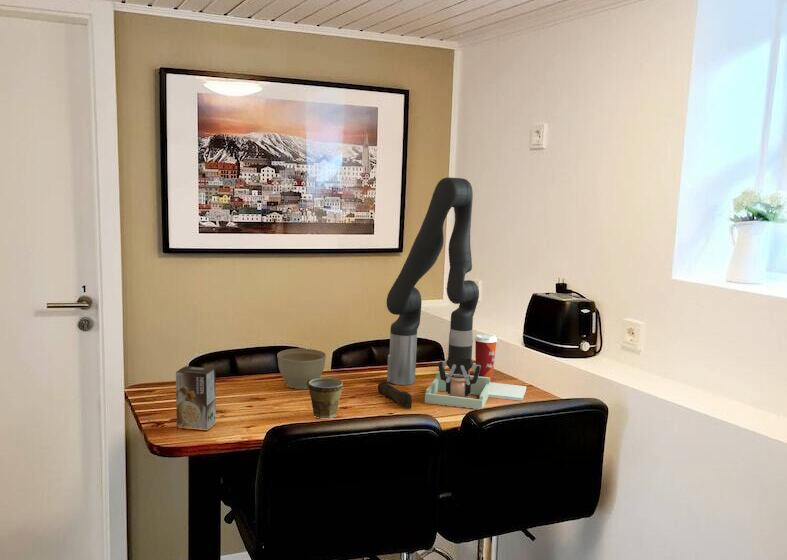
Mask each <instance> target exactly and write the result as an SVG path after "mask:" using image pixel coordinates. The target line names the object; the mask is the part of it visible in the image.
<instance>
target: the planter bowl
mask: <svg viewBox="0 0 787 560" xmlns="http://www.w3.org/2000/svg"><path fill="white" fill-rule="evenodd" d="M276 357H277V366H278V369H279V370H278V371H279V373H280V375H281V377H282V378H283V380H284V381H285V383H286V387H288V388H289V387H290V389H292V388H295V389H294V390H308V389H307V388H308V387H307V381H308V380H313V379H317V378H321V376H322V374H323V372H324V370H325V364H326V358H327V353H326V352H324V351H321V350H318V349H312V348H290V349H285V350H281V351H279V352H277V355H276Z"/></svg>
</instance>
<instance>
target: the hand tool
mask: <svg viewBox="0 0 787 560" xmlns="http://www.w3.org/2000/svg"><path fill="white" fill-rule="evenodd" d="M377 390H378V393H379V394H381V395H385V396H387V397H388V398H389V399H392V400H394V401H396V402H397V403H398V406H400V407H402V408H405V409H408V410H411V409H412V404H413V397H412V394H410V393H409V392H408V391H406V390H402V391H401V390H399V389H397V388H396V387H394V386H392V385H391V384H389V382H387V381H381V382H380V383H378V384H377Z"/></svg>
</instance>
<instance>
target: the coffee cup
mask: <svg viewBox="0 0 787 560" xmlns="http://www.w3.org/2000/svg"><path fill="white" fill-rule="evenodd" d="M474 343H475V346H474V347H475V352H474V354H475V364H476V365H481V369H480V372H479V377H488V378H490V380H491V379H492V378H493V374H494V369H495V359H496V350H497V349H496V348H497V343H498V339H497V336H496V335H494V334H489V333H488V334H486V333H485V334H484V333H482V334H481V333H479V334H476V335H475V338H474Z"/></svg>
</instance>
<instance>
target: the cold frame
mask: <svg viewBox="0 0 787 560" xmlns="http://www.w3.org/2000/svg"><path fill="white" fill-rule="evenodd" d="M445 375H446V376H447V377H448V375H449V372H445ZM473 377H474V375H470V378H471V379H473ZM490 382H491V379H490V378H488V377H479V376H478V379H477V382H476V383H475V384H471V392H470V394H469V395H475V396H479V393H480V392H482V393H481V395H480V396H479V398H471V397H466V398H465V397H456V396H450V395H449V394H437V392H438V391H440V392H441V391H442V392H446V382H445V381H444V380H441V378H440V372H439V371H435V379H434V380H433V381H432V382H431V383H430V384H429V386H428V387H427V388H426V390H425V394H424V403H425V404H430V405H437V404H438V405H439V406H445V405H447V407H453V406H456V407H455V408H461V407H466V408H465V409H469V408H473V409H472V410H478V409H479V408H484V406H485V405H486V403H487V401H488V399H489V397H488V394H489V389H490Z"/></svg>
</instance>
